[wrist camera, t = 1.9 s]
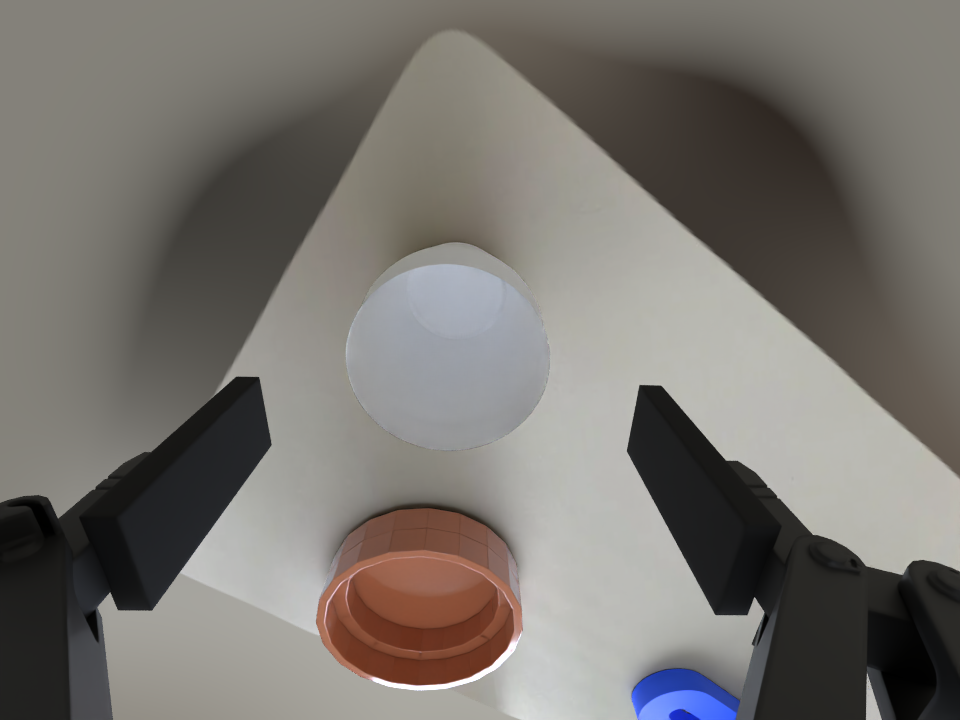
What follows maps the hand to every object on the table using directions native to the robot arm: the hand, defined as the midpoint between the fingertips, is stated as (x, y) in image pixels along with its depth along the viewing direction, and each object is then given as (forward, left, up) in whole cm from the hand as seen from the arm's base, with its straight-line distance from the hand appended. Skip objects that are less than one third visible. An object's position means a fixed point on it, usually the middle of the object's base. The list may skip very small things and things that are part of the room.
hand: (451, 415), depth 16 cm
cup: (0, 0, -16) cm, 16 cm away
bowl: (+11, -24, -16) cm, 31 cm away
